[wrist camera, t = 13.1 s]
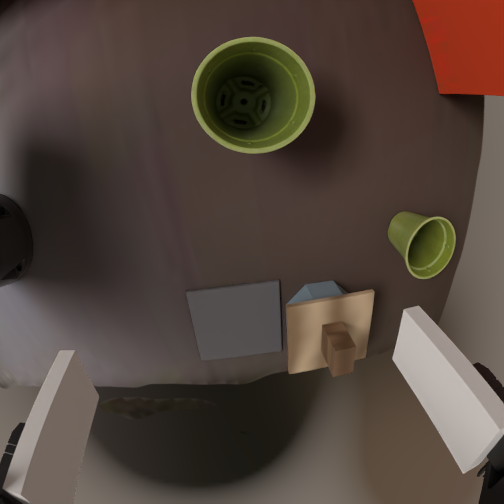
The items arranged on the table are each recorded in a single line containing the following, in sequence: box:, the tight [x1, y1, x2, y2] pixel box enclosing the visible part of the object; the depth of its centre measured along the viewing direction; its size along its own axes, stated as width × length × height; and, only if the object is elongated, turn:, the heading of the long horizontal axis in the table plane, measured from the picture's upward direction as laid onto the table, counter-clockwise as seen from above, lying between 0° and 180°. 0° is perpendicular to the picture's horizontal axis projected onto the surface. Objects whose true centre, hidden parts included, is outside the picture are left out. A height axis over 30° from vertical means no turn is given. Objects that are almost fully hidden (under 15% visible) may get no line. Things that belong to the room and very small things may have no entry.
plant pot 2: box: [388, 211, 456, 279], centre depth 43 cm, size 9×9×9 cm
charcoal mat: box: [186, 280, 282, 361], centre depth 50 cm, size 14×14×1 cm
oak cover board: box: [286, 289, 375, 377], centre depth 42 cm, size 13×13×7 cm
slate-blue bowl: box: [286, 280, 349, 328], centre depth 48 cm, size 11×11×6 cm
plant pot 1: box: [191, 37, 315, 154], centre depth 32 cm, size 12×12×11 cm
